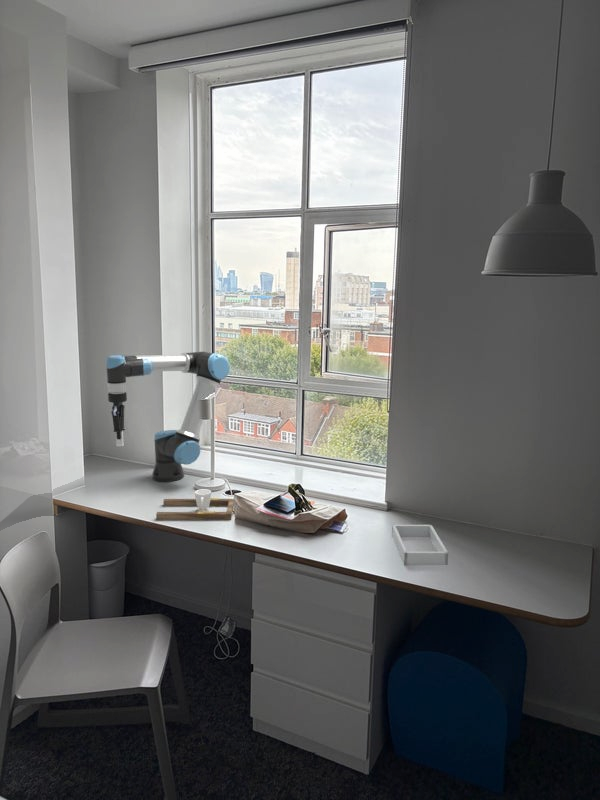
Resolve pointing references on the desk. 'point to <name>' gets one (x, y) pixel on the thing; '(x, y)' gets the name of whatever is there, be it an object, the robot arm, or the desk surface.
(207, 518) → the channel
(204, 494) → the cup
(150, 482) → the desk surface
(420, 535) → the tray
